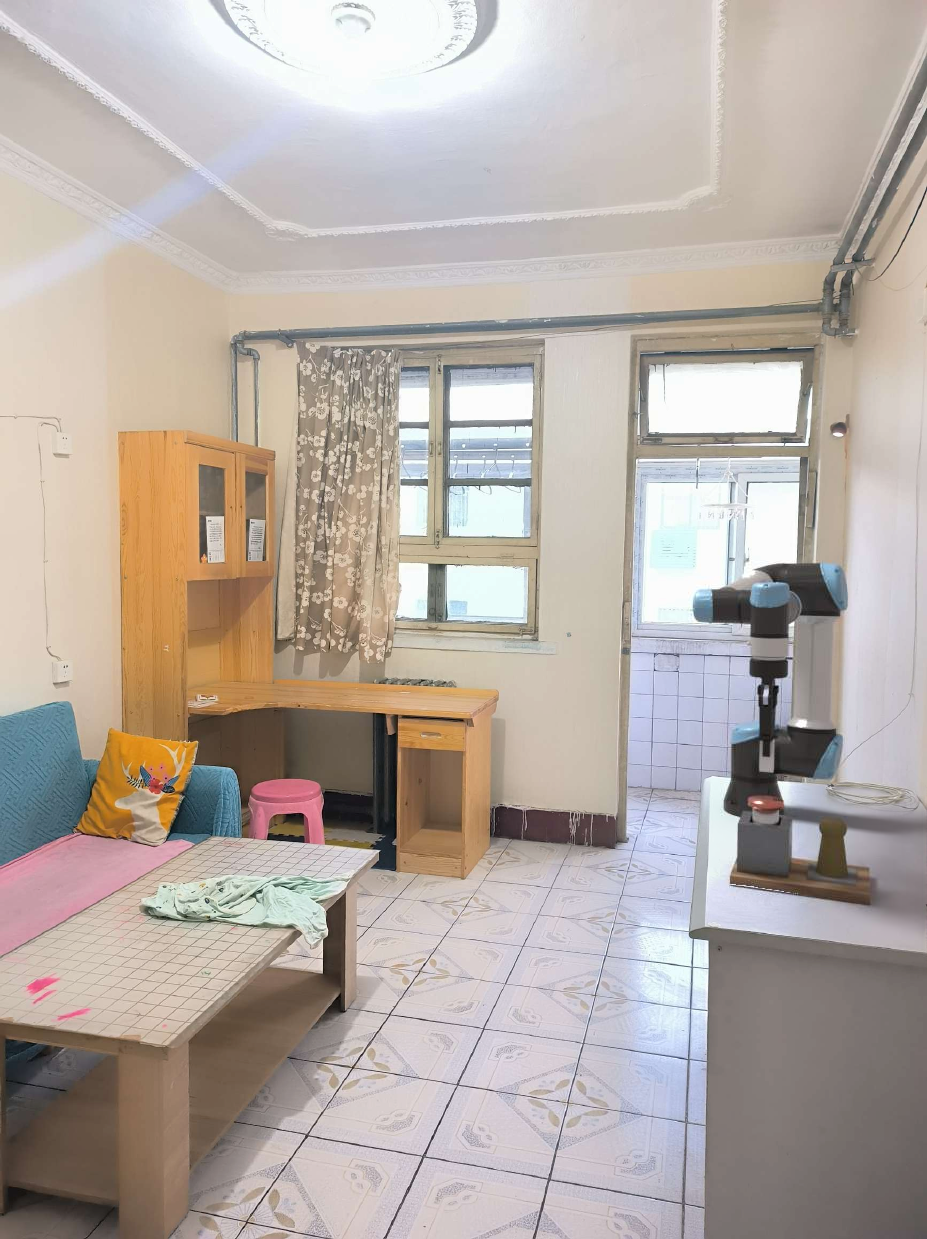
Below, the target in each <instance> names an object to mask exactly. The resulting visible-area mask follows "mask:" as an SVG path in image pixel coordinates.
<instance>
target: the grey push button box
mask: <svg viewBox="0 0 927 1239" xmlns="http://www.w3.org/2000/svg"><path fill="white" fill-rule="evenodd" d="M752 815H753V812H751V811H743V813H742V815H741V816H739V819H738V822H737V835H736V836H737V842H736V844H737V845H736V848H737V849H736V858H737V871H738V872H745V873H753V874H760V875H768V876H775V877H782V878H789V873H790V868H791V863H792V858H793V856H792V855H793V823H794V822H793V818H794V817H793V815H789V814H788V815H786V814H783V815H779V826H778V825H769V824H760V823H752Z"/></svg>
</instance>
